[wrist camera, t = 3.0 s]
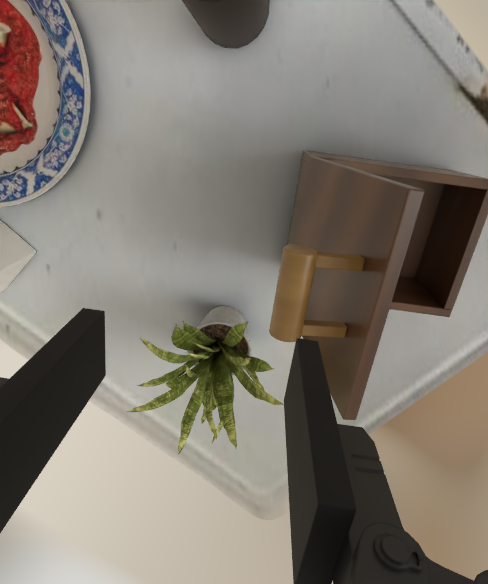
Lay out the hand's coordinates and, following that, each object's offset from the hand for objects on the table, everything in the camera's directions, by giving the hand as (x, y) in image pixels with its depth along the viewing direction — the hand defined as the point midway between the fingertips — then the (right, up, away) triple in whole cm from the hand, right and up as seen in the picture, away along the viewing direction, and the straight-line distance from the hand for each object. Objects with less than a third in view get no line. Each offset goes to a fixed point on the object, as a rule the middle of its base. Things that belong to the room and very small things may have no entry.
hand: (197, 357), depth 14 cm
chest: (+15, +10, +28) cm, 34 cm away
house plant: (-2, -1, +35) cm, 35 cm away
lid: (+8, +4, +13) cm, 15 cm away
